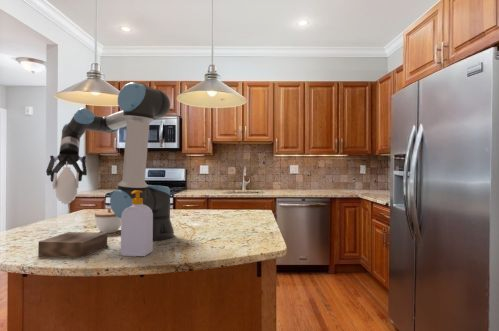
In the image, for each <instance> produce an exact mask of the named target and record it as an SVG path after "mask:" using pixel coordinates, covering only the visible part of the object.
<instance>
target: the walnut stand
mask: <svg viewBox="0 0 499 331" xmlns="http://www.w3.org/2000/svg"><path fill="white" fill-rule="evenodd" d="M106 246H108V233H102V232H93V231H80V232H79V231H67V232H64V233H61V234H58V235H56V236H51V237H48V238H46V239H42V240H39V241H38V249H37V250H38V254H37V255H38V257H59V256H70V257H69V258H83V256H84V257H86V256H88V255H89V254H92V253H94V252H96V251H98V250H100V249H102V248H104V247H106Z"/></svg>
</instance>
